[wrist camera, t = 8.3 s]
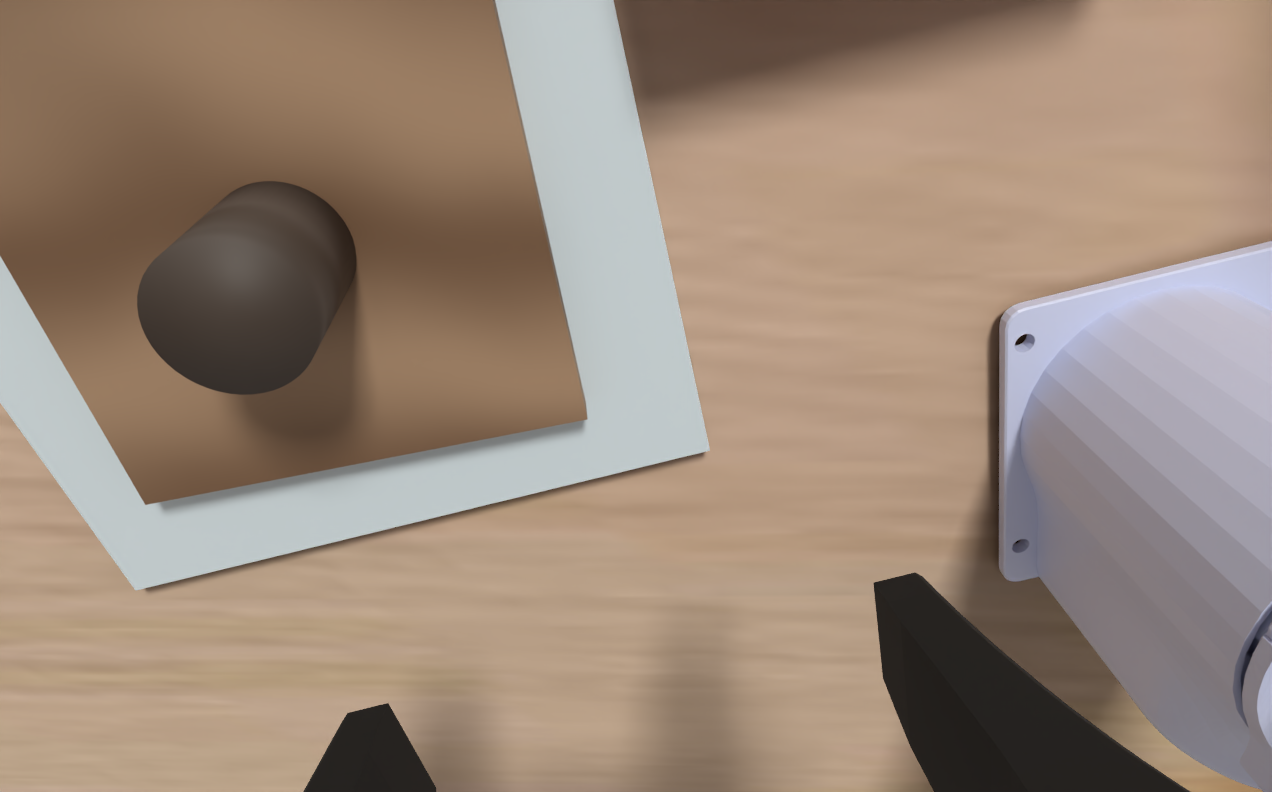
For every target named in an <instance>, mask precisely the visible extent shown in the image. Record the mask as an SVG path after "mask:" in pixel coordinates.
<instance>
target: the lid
mask: <svg viewBox="0 0 1272 792" xmlns="http://www.w3.org/2000/svg"><path fill="white" fill-rule="evenodd" d="M0 256H1V258H2V260H3V262H4V263H5V265H6V267H7V268H8V270H9V272H10V274H11V275H12V277H13V279H14V281H15V282H16V284H17V286H18V287H19V289H20V291H21V293H22V294H23V296H24V298H25V299H26V301H27V303H28V305H29V306H30V308H31V310H32V311H33V313H34V315H35V317H36V318H37V320H38V322H39V323H40V325H41V327H42V329H43V330H44V332H45V334H46V335H47V337H48V339H49V341H50V342H51V344H52V346H53V347H54V349H55V351H56V353H57V354H58V356H59V358H60V359H61V361H62V363H63V365H64V366H65V368H66V370H67V371H68V373H69V375H70V377H71V378H72V380H73V382H74V383H75V385H76V387H77V389H78V390H79V392H80V394H81V395H82V397H83V399H84V401H85V402H86V404H87V406H88V407H89V409H90V411H91V413H92V414H93V416H94V418H95V419H96V421H97V423H98V425H99V426H100V428H101V430H102V431H103V433H104V435H105V437H106V438H107V440H108V442H109V443H110V445H111V447H112V449H113V450H114V452H115V454H116V455H117V457H118V459H119V461H120V462H121V464H122V466H123V467H124V469H125V471H126V473H127V474H128V476H129V478H130V479H131V481H132V483H133V485H134V486H135V488H136V490H137V491H138V493H139V495H140V497H141V498H142V500H143V502H144V504H145V505H148V504H153V503H158V502H163V501H169V500H174V499H179V498H184V497H189V496H195V495H200V494H205V493H210V492H215V491H220V490H226V489H231V488H236V487H241V486H246V485H251V484H257V483H262V482H267V481H272V480H277V479H282V478H288V477H293V476H298V475H303V474H308V473H313V472H319V471H324V470H329V469H334V468H339V467H344V466H350V465H355V464H360V463H365V462H370V461H375V460H381V459H386V458H391V457H396V456H401V455H406V454H412V453H417V452H422V451H427V450H432V449H437V448H443V447H448V446H453V445H458V444H463V443H468V442H474V441H479V440H484V439H489V438H494V437H499V436H505V435H510V434H515V433H520V432H525V431H530V430H536V429H541V428H546V427H551V426H556V425H561V424H567V423H572V422H577V421H582V420H587V419H588V418H587V408H586V401H585V396H584V392H583V388H582V383H581V379H580V374H579V370H578V365H577V361H576V357H575V352H574V348H573V343H572V339H571V334H570V330H569V326H568V321H567V317H566V312H565V308H564V303H563V299H562V295H561V290H560V286H559V281H558V277H557V272H556V268H555V264H554V259H553V255H552V250H551V246H550V241H549V237H548V232H547V228H546V224H545V219H544V215H543V210H542V206H541V201H540V197H539V193H538V188H537V184H536V179H535V175H534V170H533V166H532V162H531V157H530V153H529V148H528V144H527V139H526V135H525V131H524V126H523V122H522V117H521V113H520V108H519V104H518V100H517V95H516V91H515V86H514V82H513V77H512V73H511V69H510V64H509V60H508V55H507V51H506V46H505V42H504V38H503V33H502V29H501V24H500V20H499V15H498V11H497V6H496V2H495V0H0Z"/></svg>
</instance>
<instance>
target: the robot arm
mask: <svg viewBox="0 0 1272 792" xmlns="http://www.w3.org/2000/svg"><path fill="white" fill-rule="evenodd" d="M1024 334H1027V337H1026V339H1025V340H1024V342H1023V343H1021V344H1019V345H1015V343H1016V340H1017V339H1018V338H1019V337H1020V336H1022V335H1024ZM1020 539H1021V540H1020ZM1018 540H1020V541H1019V542H1018V543H1016V544H1014V543H1015V542H1016V541H1018ZM999 569H1000V571H1001V573H1002V574H1003V576H1004V577H1005V578H1006V579H1007V580H1009V581H1012V582H1015V581H1023V580H1027V579H1031V578H1035V577H1039V578H1040V579H1041V580H1042V582H1043V583H1044V584H1045V586H1046V587H1047V588H1048V589H1049V591H1050V592H1051V593H1052V595H1053V596H1054V597H1055V599H1056V600H1057V601H1058V603H1059V604H1060V605H1061V606H1062V608H1063V609H1064V610H1065V612H1066V613H1067V614H1068V616H1069V617H1070V618H1071V620H1072V621H1073V622H1074V624H1075V625H1076V626H1077V627H1078V629H1079V630H1080V631H1081V633H1082V634H1083V635H1084V637H1085V638H1086V639H1087V641H1088V642H1089V643H1090V644H1091V646H1092V647H1093V648H1094V650H1095V651H1096V652H1097V654H1098V655H1099V656H1100V658H1101V659H1102V660H1103V662H1104V663H1105V664H1106V665H1107V667H1108V668H1109V669H1110V671H1111V672H1112V673H1113V675H1114V676H1115V677H1116V679H1117V680H1118V681H1119V683H1120V684H1121V685H1122V686H1123V688H1124V689H1125V690H1126V692H1127V693H1128V694H1129V696H1130V697H1131V698H1132V700H1133V701H1134V702H1135V703H1136V705H1137V706H1138V707H1139V709H1140V710H1141V711H1142V713H1143V714H1144V715H1145V717H1146V718H1147V719H1148V720H1149V721H1150V722H1151V723H1152V725H1153V726H1154V727H1155V728H1156V729H1157V730H1158V731H1159V732H1160V733H1161V734H1162V735H1163V736H1164V737H1165V738H1166V739H1168V740H1169V741H1170V742H1171V743H1172V744H1174V745H1175V746H1176V747H1177V748H1179V749H1180V750H1181V751H1183V752H1184V753H1186V754H1187V755H1189V756H1190V757H1192V758H1193V759H1195V760H1196V761H1198V762H1200V763H1202V764H1203V765H1205V766H1207V767H1208V768H1210V769H1212V770H1214V771H1216V772H1218V773H1220V774H1222V775H1224V776H1226V777H1228V778H1230V779H1233V780H1235V781H1237V782H1240V783H1242V784H1245V785H1248V786H1251V787H1254V788H1258V789H1261V790H1262V791H1263V792H1272V241H1269V242H1265V243H1261V244H1257V245H1253V246H1249V247H1245V248H1241V249H1237V250H1233V251H1229V252H1225V253H1221V254H1217V255H1212V256H1208V257H1204V258H1200V259H1196V260H1192V261H1188V262H1184V263H1180V264H1176V265H1172V266H1168V267H1164V268H1160V269H1156V270H1151V271H1147V272H1143V273H1139V274H1135V275H1131V276H1127V277H1123V278H1119V279H1115V280H1111V281H1107V282H1103V283H1099V284H1094V285H1090V286H1086V287H1082V288H1078V289H1074V290H1070V291H1066V292H1062V293H1058V294H1054V295H1050V296H1046V297H1042V298H1038V299H1033V300H1029V301H1025V302H1021V303H1018V304H1015V305H1013V306H1011V307H1010V308H1009V309H1008V310H1006V311H1005V313H1004V314H1003V316H1002V317H1001V320H1000V325H999ZM874 592H875V602H876V612H877V622H878V632H879V642H880V652H881V662H882V672H883V679H884V682H885V684H886V687H887V689H888V692H889V694H890V697H891V699H892V702H893V704H894V707H895V710H896V712H897V715H898V717H899V719H900V722H901V724H902V727H903V729H904V732H905V734H906V737H907V739H908V741H909V744H910V746H911V748H912V750H913V752H914V754H915V756H916V758H917V760H918V762H919V764H920V766H921V767H922V769H923V771H924V773H925V775H926V777H927V779H928V781H929V783H930V785H931V786H932V788H933V790H934V792H1190V791H1188V790H1187V789H1185V788H1184V787H1182V786H1181V785H1179V784H1178V783H1176V782H1175V781H1173V780H1172V779H1170V778H1169V777H1167V776H1166V775H1164V774H1163V773H1161V772H1160V771H1158V770H1157V769H1155V768H1154V767H1152V766H1151V765H1149V764H1148V763H1146V762H1145V761H1143V760H1142V759H1140V758H1139V757H1137V756H1136V755H1135V754H1133V753H1132V752H1130V751H1129V750H1127V749H1126V748H1125V747H1123V746H1122V745H1120V744H1119V743H1118V742H1116V741H1115V740H1114V739H1112V738H1111V737H1109V736H1108V735H1107V734H1105V733H1104V732H1102V731H1101V730H1100V729H1099V728H1097V727H1096V726H1095V725H1093V724H1092V723H1091V722H1089V721H1088V720H1087V719H1085V718H1084V717H1083V716H1081V715H1080V714H1079V713H1077V712H1076V711H1075V710H1073V709H1072V708H1071V707H1069V706H1068V705H1067V704H1066V703H1064V702H1063V701H1062V700H1061V699H1059V698H1058V697H1057V696H1055V695H1054V694H1053V693H1052V692H1050V691H1049V690H1048V689H1047V688H1045V687H1044V686H1043V685H1042V684H1041V683H1039V682H1038V681H1037V680H1036V679H1035V678H1033V677H1032V676H1031V675H1030V674H1029V673H1027V672H1026V671H1025V670H1024V669H1023V668H1021V667H1020V666H1019V665H1018V664H1017V663H1015V662H1014V661H1013V660H1012V659H1011V658H1009V657H1008V656H1007V655H1006V654H1005V653H1004V652H1002V651H1001V650H1000V649H999V648H998V647H997V646H996V645H994V644H993V643H992V642H991V641H990V640H989V639H988V638H987V637H985V636H984V635H983V634H982V633H981V632H980V631H979V630H978V629H977V628H975V627H974V626H973V625H972V624H971V623H970V622H969V621H968V620H967V619H966V618H965V617H963V616H962V615H961V614H960V613H959V612H958V611H957V610H956V609H955V608H954V607H953V606H952V605H951V604H950V603H949V602H948V601H947V600H946V599H945V598H944V597H943V596H941V595H940V594H939V593H938V592H937V591H936V590H935V589H934V588H933V587H932V586H931V585H930V584H929V583H928V582H927V581H926V580H925V579H924V578H923V577H922V576H920V575H919V574H917V573H911V574H907V575H903V576H899V577H895V578H891V579H887V580H883V581H879V582H875V583H874ZM304 792H436V787H435V785H434V783H433V782H432V780H431V778H430V776H429V774H428V773H427V771H426V769H425V767H424V766H423V764H422V762H421V760H420V759H419V757H418V755H417V753H416V752H415V750H414V748H413V746H412V744H411V743H410V741H409V739H408V737H407V736H406V734H405V732H404V730H403V729H402V727H401V725H400V723H399V721H398V720H397V718H396V716H395V714H394V713H393V711H392V709H391V707H390V706H389V704H388V703H387V704H383V705H379V706H375V707H371V708H367V709H363V710H359V711H355V712H350V713H347V715H346V717H345V718H344V720H343V721H342V723H341V725H340V727H339V728H338V730H337V732H336V734H335V736H334V737H333V739H332V741H331V743H330V745H329V746H328V748H327V750H326V752H325V754H324V755H323V757H322V759H321V761H320V763H319V765H318V766H317V768H316V770H315V772H314V774H313V775H312V777H311V779H310V781H309V783H308V785H307V786H306V788H305V790H304Z"/></svg>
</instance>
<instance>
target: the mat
mask: <svg viewBox="0 0 1272 792" xmlns="http://www.w3.org/2000/svg"><path fill="white" fill-rule="evenodd" d="M495 2H496V6H497V11H498V15H499V20H500V24H501V29H502V33H503V38H504V42H505V46H506V51H507V55H508V60H509V64H510V69H511V73H512V77H513V82H514V86H515V91H516V95H517V100H518V104H519V108H520V113H521V117H522V122H523V126H524V131H525V135H526V139H527V144H528V148H529V153H530V157H531V162H532V166H533V170H534V175H535V179H536V184H537V188H538V193H539V197H540V201H541V206H542V210H543V215H544V219H545V224H546V228H547V232H548V237H549V241H550V246H551V250H552V255H553V259H554V264H555V268H556V272H557V277H558V281H559V286H560V290H561V295H562V299H563V303H564V308H565V312H566V317H567V321H568V326H569V330H570V334H571V339H572V343H573V348H574V352H575V357H576V361H577V365H578V370H579V374H580V379H581V383H582V388H583V392H584V396H585V401H586V408H587V418H588V419H587V420H582V421H577V422H572V423H567V424H561V425H556V426H551V427H546V428H541V429H536V430H530V431H525V432H520V433H515V434H510V435H505V436H499V437H494V438H489V439H484V440H479V441H474V442H468V443H463V444H458V445H453V446H448V447H443V448H437V449H432V450H427V451H422V452H417V453H412V454H406V455H401V456H396V457H391V458H386V459H381V460H375V461H370V462H365V463H360V464H355V465H350V466H344V467H339V468H334V469H329V470H324V471H319V472H313V473H308V474H303V475H298V476H293V477H288V478H282V479H277V480H272V481H267V482H262V483H257V484H251V485H246V486H241V487H236V488H231V489H226V490H220V491H215V492H210V493H205V494H200V495H195V496H189V497H184V498H179V499H174V500H169V501H163V502H158V503H153V504H148V505H145V504H144V502H143V500H142V498H141V497H140V495H139V493H138V491H137V490H136V488H135V486H134V485H133V483H132V481H131V479H130V478H129V476H128V474H127V473H126V471H125V469H124V467H123V466H122V464H121V462H120V461H119V459H118V457H117V455H116V454H115V452H114V450H113V449H112V447H111V445H110V443H109V442H108V440H107V438H106V437H105V435H104V433H103V431H102V430H101V428H100V426H99V425H98V423H97V421H96V419H95V418H94V416H93V414H92V413H91V411H90V409H89V407H88V406H87V404H86V402H85V401H84V399H83V397H82V395H81V394H80V392H79V390H78V389H77V387H76V385H75V383H74V382H73V380H72V378H71V377H70V375H69V373H68V371H67V370H66V368H65V366H64V365H63V363H62V361H61V359H60V358H59V356H58V354H57V353H56V351H55V349H54V347H53V346H52V344H51V342H50V341H49V339H48V337H47V335H46V334H45V332H44V330H43V329H42V327H41V325H40V323H39V322H38V320H37V318H36V317H35V315H34V313H33V311H32V310H31V308H30V306H29V305H28V303H27V301H26V299H25V298H24V296H23V294H22V293H21V291H20V289H19V287H18V286H17V284H16V282H15V281H14V279H13V277H12V275H11V274H10V272H9V270H8V268H7V267H6V265H5V263H4V262H3V260H2V258H1V256H0V403H1V404H2V406H3V407H4V409H5V410H6V411H7V413H8V414H9V416H10V417H11V418H12V420H13V421H14V422H15V424H16V425H17V427H18V428H19V429H20V431H21V432H22V434H23V435H24V436H25V438H26V439H27V440H28V442H29V443H30V445H31V446H32V447H33V449H34V450H35V452H36V453H37V454H38V456H39V457H40V458H41V460H42V461H43V463H44V464H45V465H46V467H47V468H48V470H49V471H50V472H51V474H52V475H53V477H54V478H55V479H56V481H57V482H58V483H59V485H60V486H61V488H62V489H63V490H64V492H65V493H66V495H67V496H68V497H69V499H70V500H71V501H72V503H73V504H74V506H75V507H76V508H77V510H78V511H79V513H80V514H81V515H82V517H83V518H84V520H85V521H86V522H87V524H88V525H89V526H90V528H91V529H92V531H93V532H94V533H95V535H96V536H97V538H98V539H99V540H100V542H101V543H102V544H103V546H104V547H105V549H106V550H107V551H108V553H109V554H110V556H111V557H112V558H113V560H114V561H115V563H116V564H117V565H118V567H119V568H120V569H121V571H122V572H123V574H124V575H125V576H126V578H127V579H128V581H129V582H130V583H131V585H132V586H133V587H134V589H135V590H140V589H144V588H148V587H152V586H156V585H161V584H165V583H169V582H173V581H177V580H181V579H185V578H189V577H193V576H197V575H202V574H206V573H210V572H214V571H218V570H222V569H226V568H230V567H234V566H238V565H243V564H247V563H251V562H255V561H259V560H263V559H267V558H271V557H275V556H279V555H284V554H288V553H292V552H296V551H300V550H304V549H308V548H312V547H316V546H320V545H325V544H329V543H333V542H337V541H341V540H345V539H349V538H353V537H357V536H361V535H366V534H370V533H374V532H378V531H382V530H386V529H390V528H394V527H398V526H403V525H407V524H411V523H415V522H419V521H423V520H427V519H431V518H435V517H439V516H444V515H448V514H452V513H456V512H460V511H464V510H468V509H472V508H476V507H480V506H485V505H489V504H493V503H497V502H501V501H505V500H509V499H513V498H517V497H521V496H526V495H530V494H534V493H538V492H542V491H546V490H550V489H554V488H558V487H562V486H567V485H571V484H575V483H579V482H583V481H587V480H591V479H595V478H599V477H603V476H608V475H612V474H616V473H620V472H624V471H628V470H632V469H636V468H640V467H644V466H649V465H653V464H657V463H661V462H665V461H669V460H673V459H677V458H681V457H685V456H690V455H694V454H698V453H702V452H706V451H710V448H709V444H708V439H707V434H706V430H705V425H704V420H703V416H702V411H701V406H700V402H699V397H698V392H697V388H696V383H695V378H694V374H693V369H692V364H691V360H690V355H689V350H688V346H687V341H686V336H685V332H684V327H683V322H682V318H681V313H680V308H679V304H678V299H677V294H676V290H675V285H674V280H673V276H672V271H671V266H670V262H669V257H668V252H667V248H666V243H665V238H664V234H663V229H662V224H661V220H660V215H659V210H658V206H657V201H656V196H655V192H654V187H653V182H652V178H651V173H650V168H649V164H648V159H647V154H646V150H645V145H644V140H643V136H642V131H641V126H640V122H639V117H638V113H637V108H636V103H635V99H634V94H633V89H632V85H631V80H630V75H629V71H628V66H627V61H626V57H625V52H624V47H623V43H622V38H621V33H620V29H619V24H618V19H617V15H616V10H615V5H614V1H613V0H495Z"/></svg>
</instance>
